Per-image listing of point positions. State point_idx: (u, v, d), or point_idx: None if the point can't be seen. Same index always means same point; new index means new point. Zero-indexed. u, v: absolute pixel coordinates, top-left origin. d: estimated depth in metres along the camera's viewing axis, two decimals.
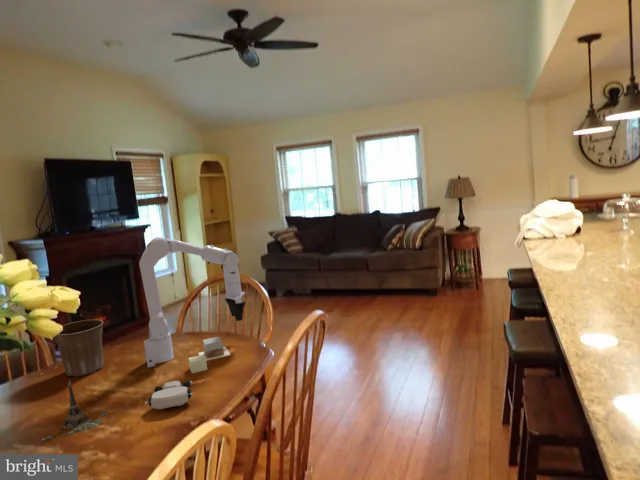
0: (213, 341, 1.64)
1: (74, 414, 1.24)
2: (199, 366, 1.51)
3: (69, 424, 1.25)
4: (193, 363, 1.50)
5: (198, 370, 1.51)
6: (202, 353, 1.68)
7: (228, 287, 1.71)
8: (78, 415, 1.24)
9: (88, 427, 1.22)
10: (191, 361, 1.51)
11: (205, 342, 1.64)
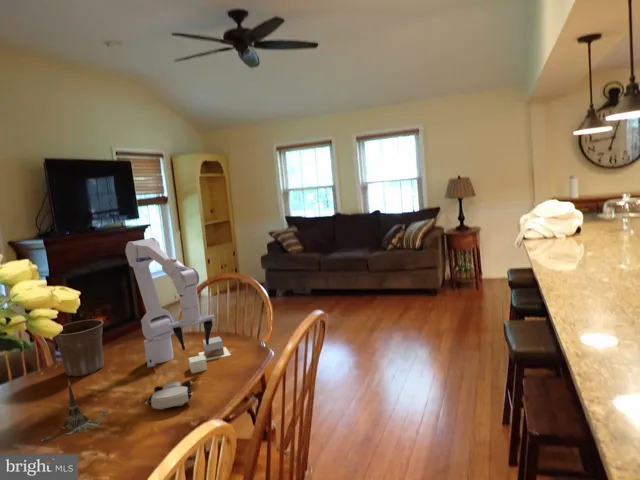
0: (213, 341, 1.64)
1: (74, 415, 1.23)
2: (199, 366, 1.51)
3: (69, 425, 1.25)
4: (193, 363, 1.50)
5: (198, 370, 1.51)
6: (202, 353, 1.68)
7: None
8: (78, 416, 1.24)
9: (87, 428, 1.22)
10: (191, 361, 1.51)
11: (205, 342, 1.64)
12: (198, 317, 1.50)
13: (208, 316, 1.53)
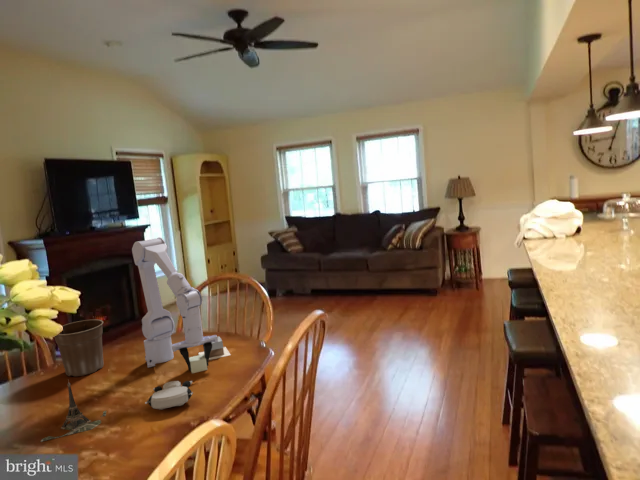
0: None
1: (73, 415, 1.23)
2: (199, 366, 1.51)
3: (68, 425, 1.25)
4: (193, 363, 1.50)
5: (198, 370, 1.51)
6: (202, 353, 1.68)
7: None
8: (77, 416, 1.24)
9: (87, 428, 1.22)
10: (191, 361, 1.51)
11: None
12: (201, 338, 1.51)
13: (211, 337, 1.54)
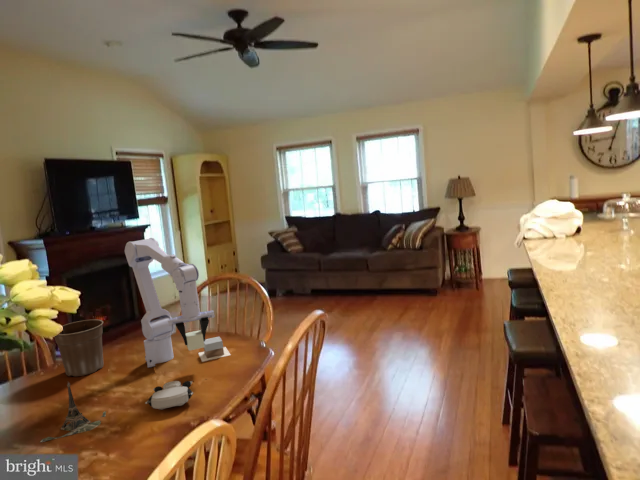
0: (213, 341, 1.64)
1: (73, 416, 1.23)
2: (196, 341, 1.50)
3: (68, 426, 1.24)
4: (189, 338, 1.49)
5: (195, 345, 1.50)
6: (202, 353, 1.68)
7: None
8: (77, 417, 1.24)
9: (87, 429, 1.21)
10: (188, 336, 1.50)
11: (205, 342, 1.64)
12: (197, 313, 1.50)
13: (207, 312, 1.53)
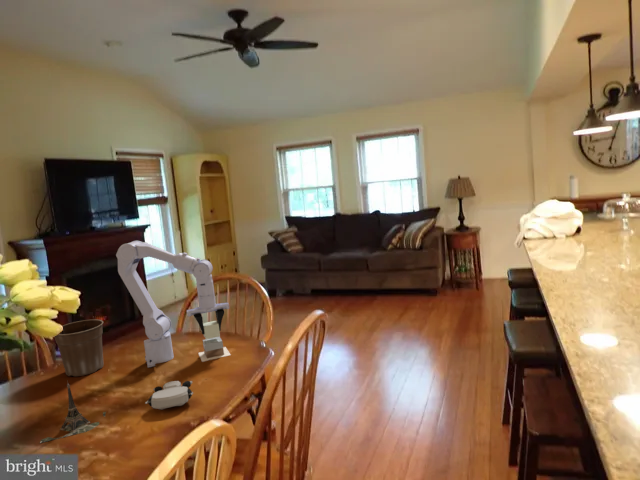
0: (213, 341, 1.64)
1: (73, 416, 1.23)
2: (212, 330, 1.63)
3: (68, 426, 1.24)
4: (207, 327, 1.62)
5: (211, 334, 1.63)
6: (202, 353, 1.68)
7: None
8: (77, 417, 1.23)
9: (86, 429, 1.21)
10: (205, 326, 1.62)
11: (205, 342, 1.64)
12: (214, 304, 1.63)
13: (223, 304, 1.66)
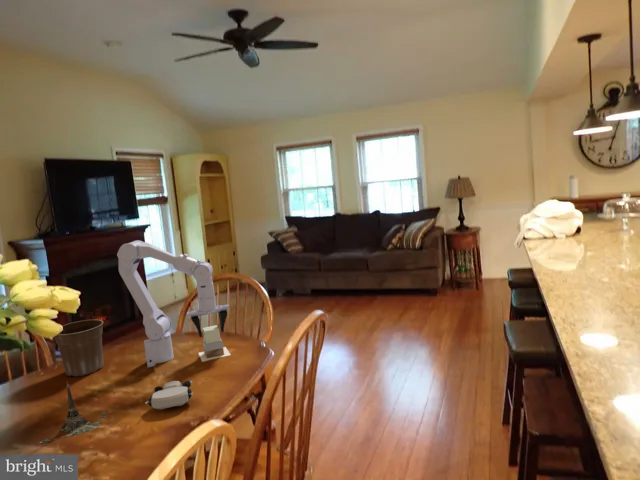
0: None
1: (72, 417, 1.22)
2: (213, 335, 1.63)
3: (67, 427, 1.24)
4: (207, 332, 1.62)
5: (212, 338, 1.63)
6: (202, 353, 1.68)
7: None
8: (76, 418, 1.23)
9: (86, 430, 1.21)
10: (205, 330, 1.63)
11: None
12: (214, 307, 1.63)
13: (223, 306, 1.66)
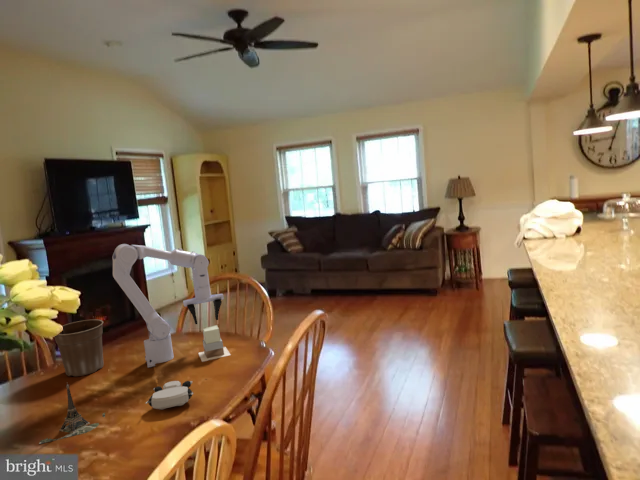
0: None
1: (72, 417, 1.22)
2: (213, 335, 1.63)
3: (67, 427, 1.23)
4: (207, 332, 1.62)
5: (212, 338, 1.63)
6: (202, 353, 1.68)
7: None
8: (76, 418, 1.23)
9: (86, 430, 1.21)
10: (205, 330, 1.63)
11: None
12: (209, 295, 1.71)
13: (217, 295, 1.74)
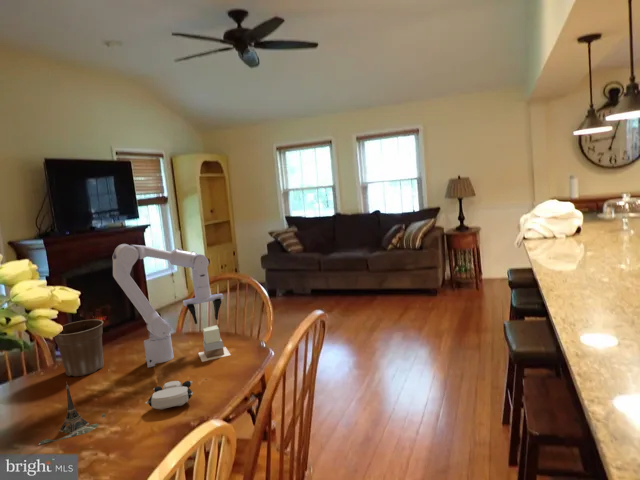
0: None
1: (72, 418, 1.22)
2: (213, 335, 1.63)
3: (66, 428, 1.23)
4: (207, 332, 1.62)
5: (212, 338, 1.63)
6: (202, 353, 1.68)
7: None
8: (76, 419, 1.22)
9: (86, 431, 1.20)
10: (205, 330, 1.63)
11: None
12: (209, 295, 1.72)
13: (217, 295, 1.75)
